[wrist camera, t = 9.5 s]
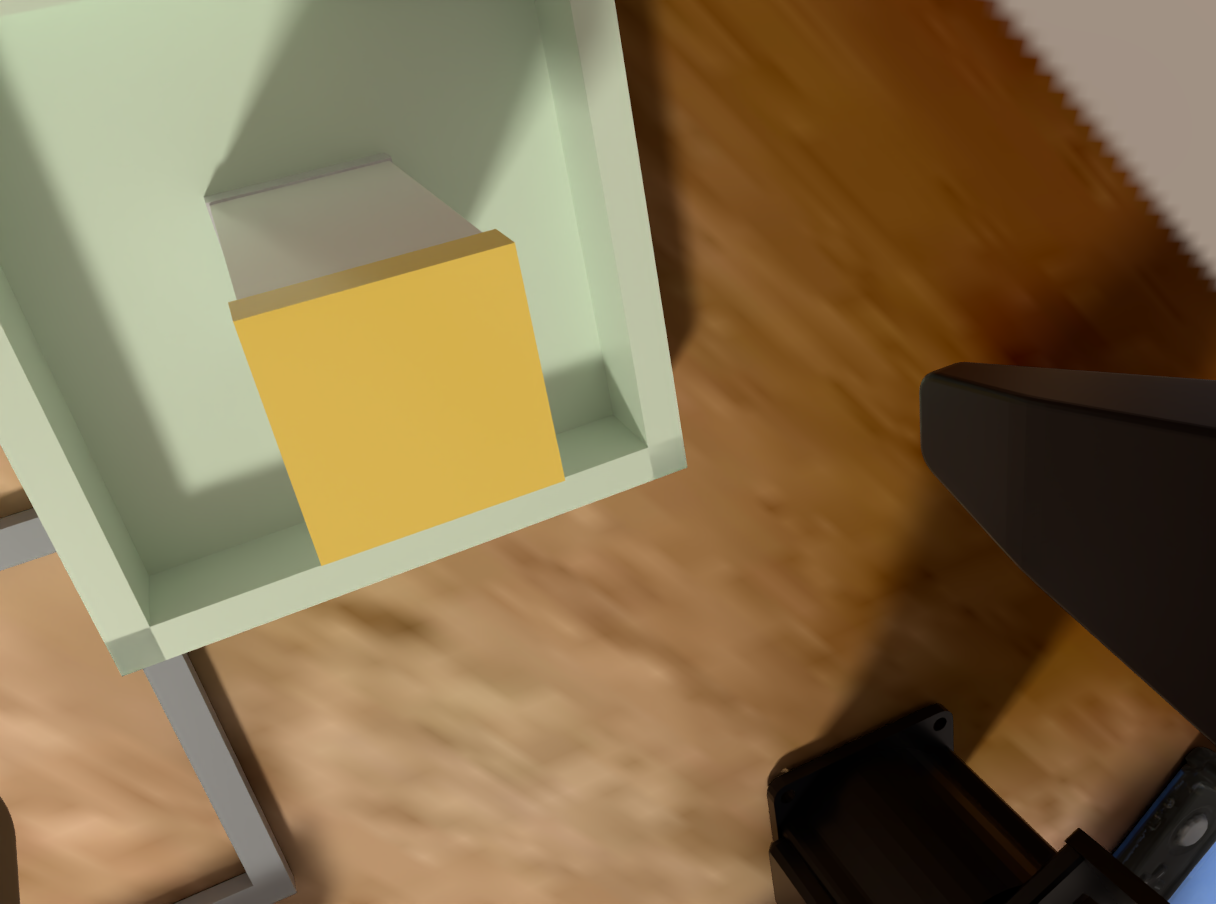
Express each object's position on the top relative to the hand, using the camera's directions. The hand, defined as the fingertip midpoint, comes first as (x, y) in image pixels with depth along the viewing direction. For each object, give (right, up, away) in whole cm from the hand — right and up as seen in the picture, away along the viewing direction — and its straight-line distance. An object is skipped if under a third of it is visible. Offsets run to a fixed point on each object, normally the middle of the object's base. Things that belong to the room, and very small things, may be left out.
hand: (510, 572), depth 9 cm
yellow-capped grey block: (-5, +5, +10) cm, 12 cm away
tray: (-5, +5, +11) cm, 13 cm away
